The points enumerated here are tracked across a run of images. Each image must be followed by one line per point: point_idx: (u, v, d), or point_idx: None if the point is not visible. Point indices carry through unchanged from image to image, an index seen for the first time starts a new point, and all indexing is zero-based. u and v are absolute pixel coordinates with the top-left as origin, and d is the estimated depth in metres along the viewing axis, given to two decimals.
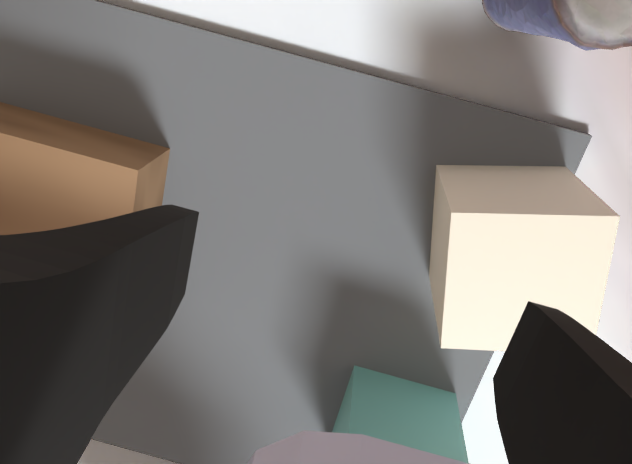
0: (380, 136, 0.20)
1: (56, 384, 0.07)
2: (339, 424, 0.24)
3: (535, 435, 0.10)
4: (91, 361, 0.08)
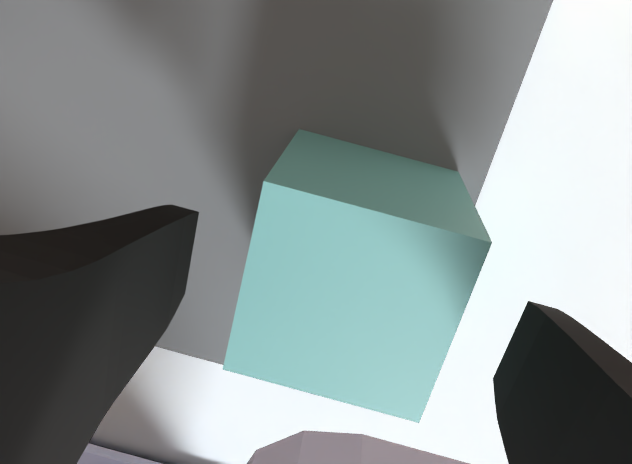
0: None
1: (56, 384, 0.07)
2: None
3: (535, 435, 0.10)
4: (91, 361, 0.08)
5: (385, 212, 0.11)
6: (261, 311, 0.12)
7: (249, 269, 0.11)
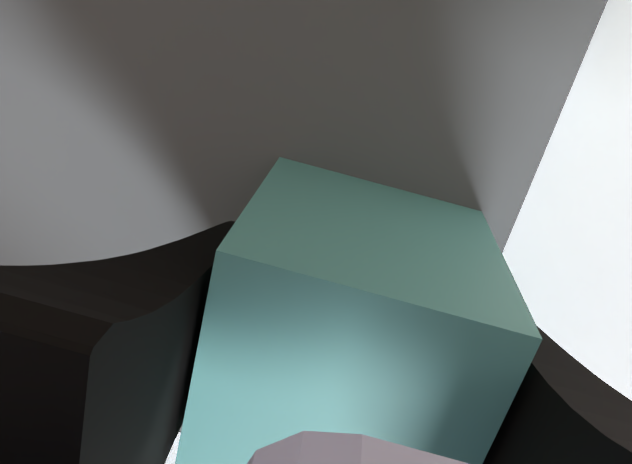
0: None
1: (152, 411, 0.07)
2: None
3: None
4: (175, 384, 0.08)
5: (389, 295, 0.08)
6: (219, 420, 0.09)
7: (200, 367, 0.08)
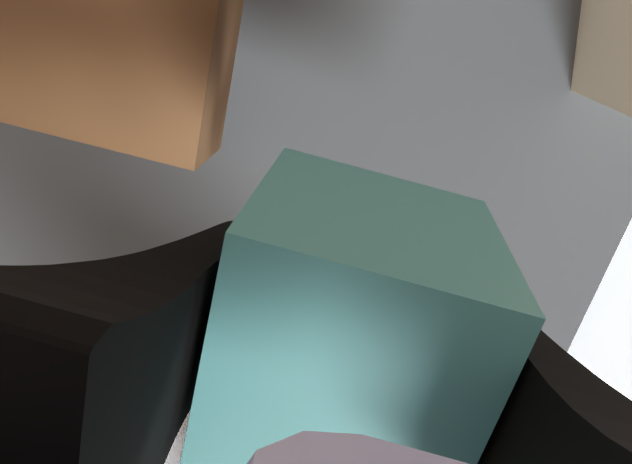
0: None
1: (152, 410, 0.07)
2: None
3: None
4: (175, 384, 0.08)
5: (395, 276, 0.08)
6: (227, 401, 0.09)
7: (209, 348, 0.08)
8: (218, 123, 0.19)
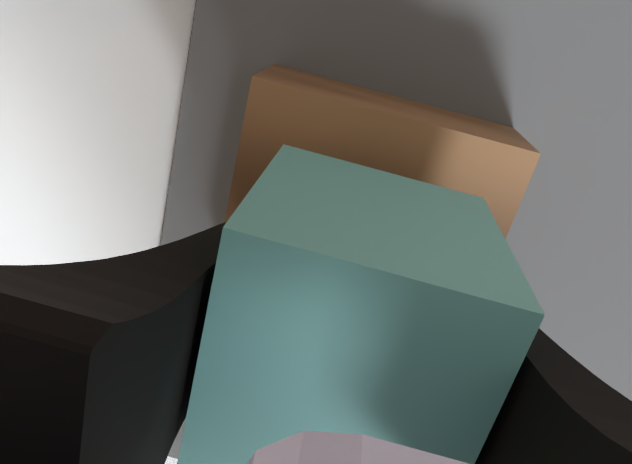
0: None
1: (152, 410, 0.07)
2: None
3: None
4: (175, 384, 0.08)
5: (393, 271, 0.08)
6: (225, 398, 0.09)
7: (207, 344, 0.08)
8: None
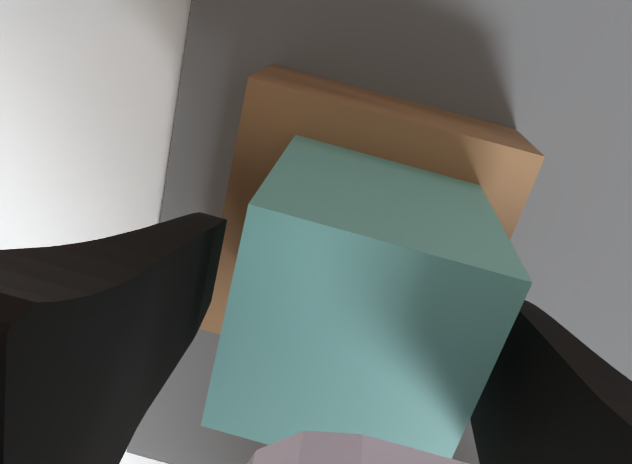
0: None
1: (102, 396, 0.07)
2: None
3: (502, 426, 0.10)
4: (131, 372, 0.08)
5: (399, 243, 0.09)
6: (246, 360, 0.10)
7: (231, 310, 0.09)
8: None
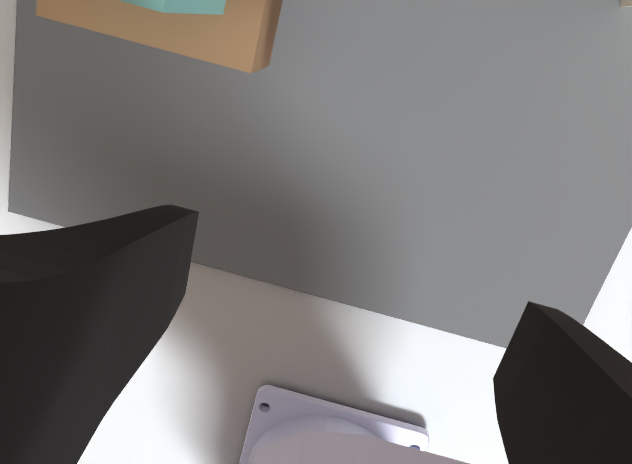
0: None
1: (56, 384, 0.07)
2: None
3: (536, 435, 0.10)
4: (91, 361, 0.08)
5: None
6: None
7: None
8: (270, 35, 0.19)
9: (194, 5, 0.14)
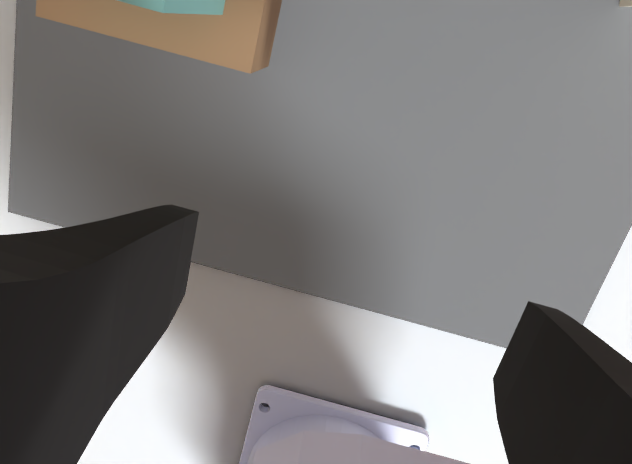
0: None
1: (56, 384, 0.07)
2: None
3: (535, 435, 0.10)
4: (91, 361, 0.08)
5: None
6: None
7: None
8: (270, 36, 0.19)
9: (193, 5, 0.14)
